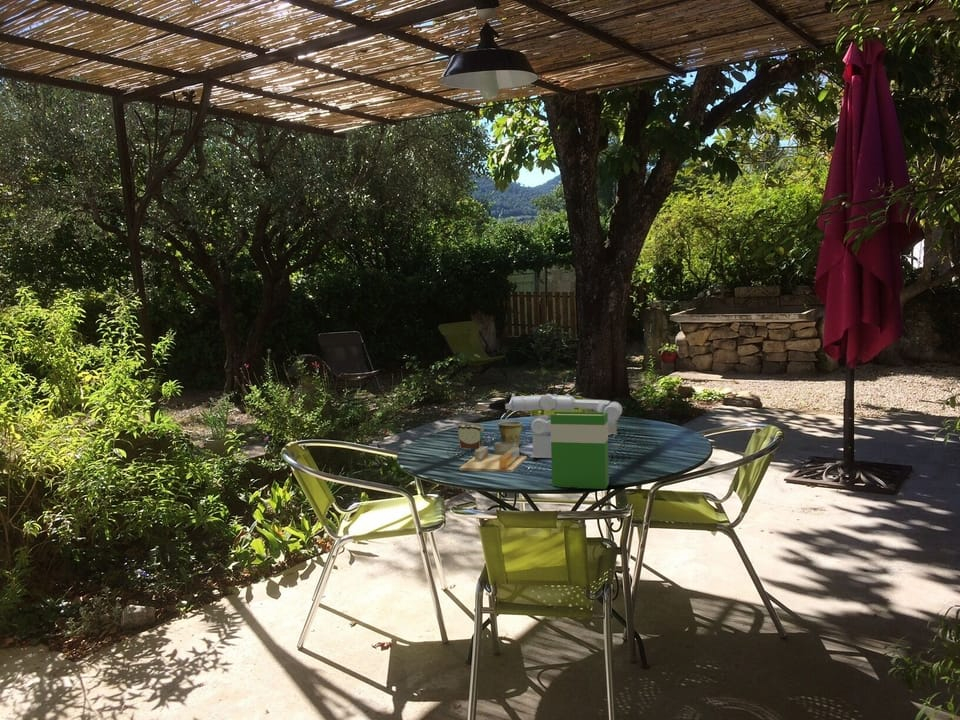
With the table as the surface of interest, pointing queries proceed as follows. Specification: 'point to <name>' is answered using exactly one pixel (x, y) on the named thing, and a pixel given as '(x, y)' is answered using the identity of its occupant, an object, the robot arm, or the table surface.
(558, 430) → the green box
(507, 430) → the ceramic cup
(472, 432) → the food container
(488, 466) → the base
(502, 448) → the steel block
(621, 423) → the table surface
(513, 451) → the block
